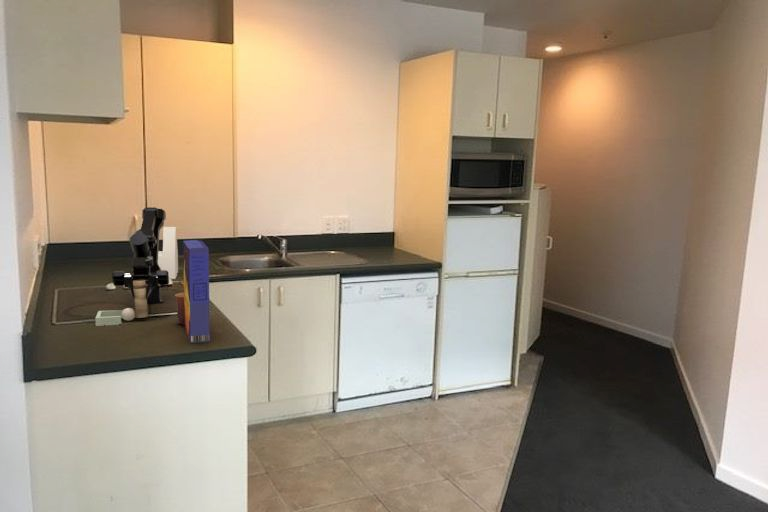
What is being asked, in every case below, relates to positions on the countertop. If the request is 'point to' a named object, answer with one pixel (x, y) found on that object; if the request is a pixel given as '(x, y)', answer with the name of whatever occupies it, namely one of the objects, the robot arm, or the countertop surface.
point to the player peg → (140, 298)
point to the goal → (108, 317)
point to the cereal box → (196, 291)
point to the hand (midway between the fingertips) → (139, 297)
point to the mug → (180, 308)
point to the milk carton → (169, 252)
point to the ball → (128, 314)
